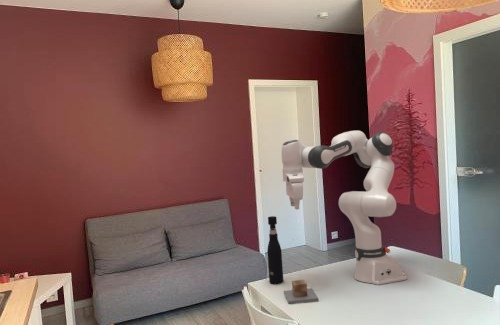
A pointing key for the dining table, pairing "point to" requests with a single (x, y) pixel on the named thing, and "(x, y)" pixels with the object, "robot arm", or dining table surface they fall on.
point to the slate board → (309, 298)
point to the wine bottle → (274, 254)
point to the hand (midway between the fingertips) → (294, 207)
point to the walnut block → (299, 288)
